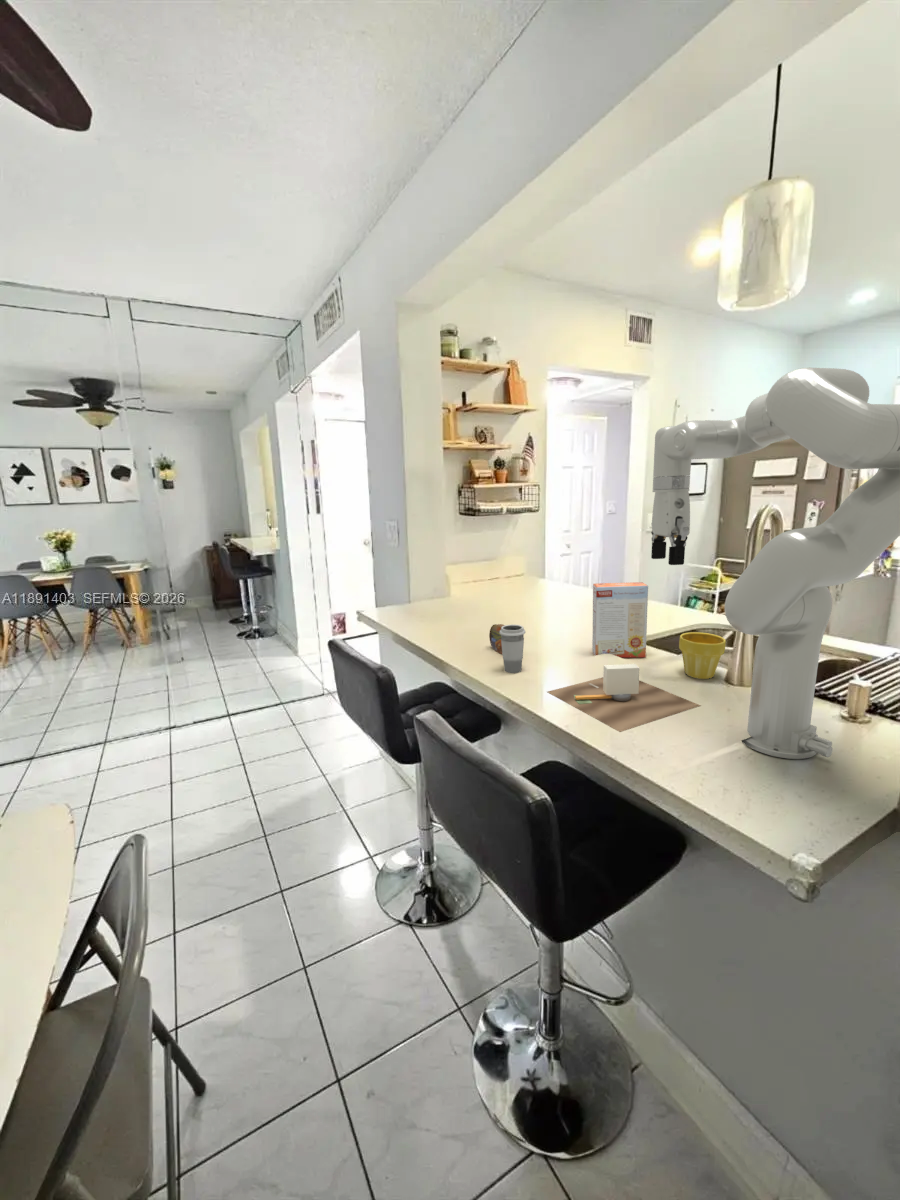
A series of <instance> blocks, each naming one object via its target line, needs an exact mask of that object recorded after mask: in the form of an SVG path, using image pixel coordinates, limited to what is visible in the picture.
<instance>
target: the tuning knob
mask: <svg viewBox="0 0 900 1200" xmlns="http://www.w3.org/2000/svg"><path fill="white" fill-rule="evenodd" d="M602 675H603V691H604V692H605V695H582V696H575V699H576V700H581V699H604V698H612V699H614V700H617V701H628V700H630V699H631V694H638V691H639V680H640V667H639V666H638V665H637V664H636V663H625V664H624V663H623V664H604V665H603V673H602Z"/></svg>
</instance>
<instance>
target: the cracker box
mask: <svg viewBox="0 0 900 1200" xmlns="http://www.w3.org/2000/svg"><path fill="white" fill-rule="evenodd" d="M648 602H649V585H647V584H646V583H644V582H642V581H641V582H640V581H639V582H603V583H602V582H601V583H593V585H592V641H591V643H592V648H591V649H592V651H591V653H593V656H594V655H595V656H600V655H604V654H606V655H607V654H609V655H612V656H615V657H617V658H621V659H623V658H624V659H626V658H627V659H628V658H633V659H634V658H636V659H637V658H646V657H647V633H648V632H647V631H648V629H647V627H648V624H647V623H648V606H649V605H648V604H649V603H648ZM595 656H594V657H595Z"/></svg>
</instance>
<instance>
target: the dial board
mask: <svg viewBox="0 0 900 1200" xmlns="http://www.w3.org/2000/svg"><path fill="white" fill-rule="evenodd" d="M547 693H548V694H549V695H552V696H554V697H555V698H557V699H558V700H561V701H562V702H564V703H566V704H568V705H570V706H571V707H573V708H575V709H577V710H578V711H580V712H583V713H584V714H586V715H587V716H589V717H591V718H592V719H595V720H597V721H598V722H601V723H603V724H604V725H606V726H607V727H610V728H611V729H613V730H615V731H617V732H619V733H622V732H624V731H628V730H630V729H631V730H632V729H634V728H637V727H640V726H643V725H646V724H650V723H653V722H656V721H658V720H661V719H664V718H665V719H666V718H667V717H670V716H674V715H677V714H680V713H684V712H687V711H690V710H692V709H695V708H698V707H701V706H702V705H701V704H698V703H696V702H693V701H691V700H689V699H686V698H685V697H681V696H679V695H676V694H674V693H671V692H669V691H666V690H664V689H661V688H659V687H657V686H654V685H651V684H649V683H647V682H645V681H642V680H640V679H639V691H638V694H631V699H630V700H628V701H617V700H614V699H612V698H604V699H581V700H576V699H575V696H582V695H605V692H604V691H603V677H599V678H595V679H591V680H587V681H583V682H580V683H575V684H572V685H567V686H564V687H560V688H556V689H552V690H548V691H547Z"/></svg>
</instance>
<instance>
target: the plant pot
mask: <svg viewBox="0 0 900 1200" xmlns="http://www.w3.org/2000/svg"><path fill="white" fill-rule="evenodd" d="M726 641H727V640H726V639H725V638H724V637H723V636H720V635H717V634H713V633H707V632H699V631H698V632H697V631H695V632H694V631H693V632H692V631H691V632H683V633H682V634H680V636H679V641H678V648H679V650H680V651H681V655H682V662H683V669H684V673H685V675H686V674H687V676H688V677H690V676H691V677H690V678H693V679H699V680H709V678H710V679H712V677H713V678H714V677H715V674H716V671H717V668H718V665H719V664H720V659H721V657H722V656H723V655H724V654H725V650H726Z"/></svg>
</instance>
